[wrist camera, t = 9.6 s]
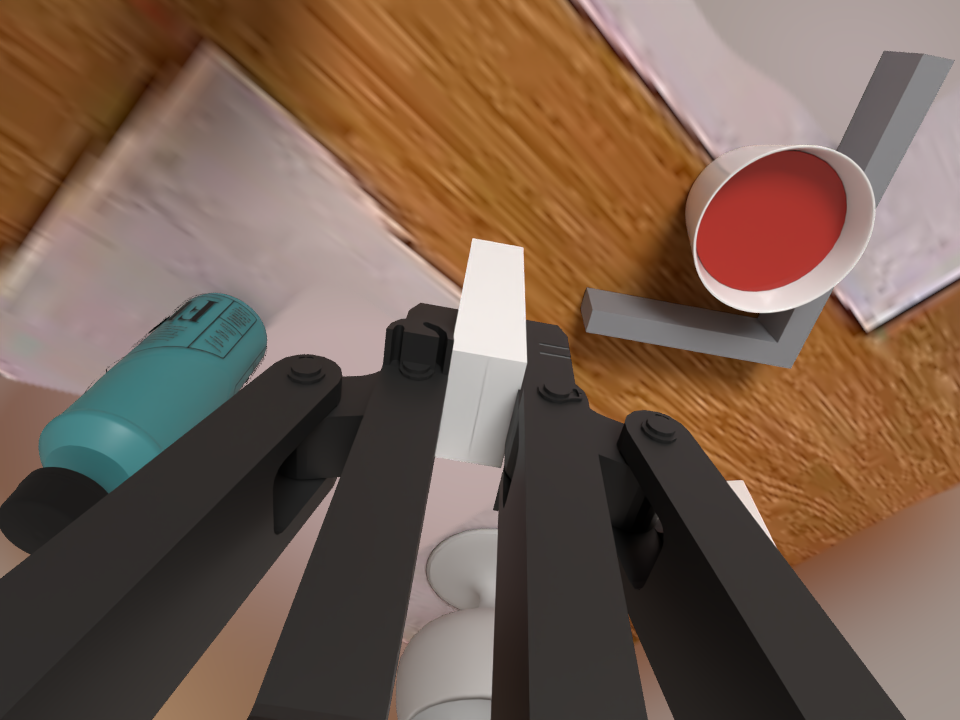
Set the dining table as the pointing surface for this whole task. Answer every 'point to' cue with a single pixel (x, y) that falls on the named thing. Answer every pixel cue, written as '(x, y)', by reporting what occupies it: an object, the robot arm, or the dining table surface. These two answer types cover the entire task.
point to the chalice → (454, 635)
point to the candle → (778, 224)
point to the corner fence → (780, 335)
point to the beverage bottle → (135, 413)
